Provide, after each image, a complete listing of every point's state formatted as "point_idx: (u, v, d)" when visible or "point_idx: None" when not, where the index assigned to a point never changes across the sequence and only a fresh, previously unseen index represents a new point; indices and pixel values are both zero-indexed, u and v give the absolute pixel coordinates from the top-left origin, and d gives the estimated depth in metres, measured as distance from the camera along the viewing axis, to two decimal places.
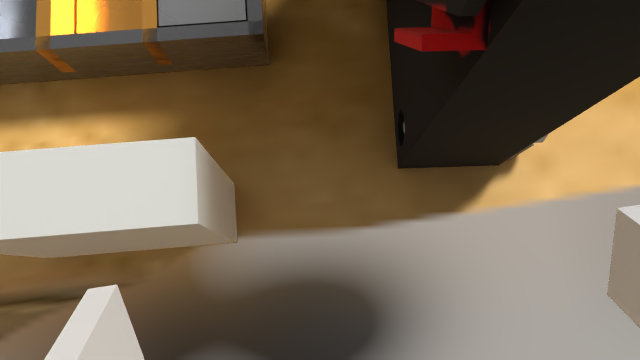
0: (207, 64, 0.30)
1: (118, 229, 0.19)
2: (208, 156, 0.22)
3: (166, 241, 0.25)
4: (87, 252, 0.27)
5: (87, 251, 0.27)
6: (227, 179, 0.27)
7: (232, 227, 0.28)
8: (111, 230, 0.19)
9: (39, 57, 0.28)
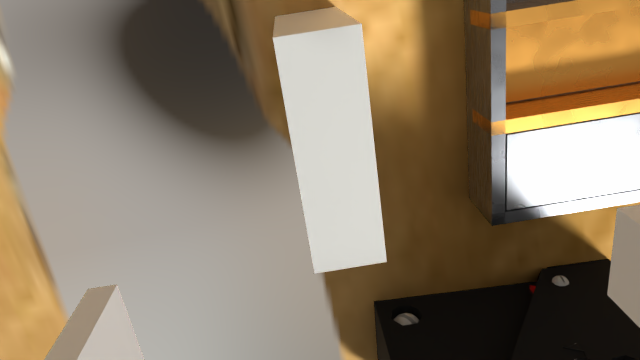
0: (471, 149, 0.32)
1: (304, 216, 0.22)
2: None
3: None
4: None
5: None
6: None
7: None
8: (303, 210, 0.22)
9: (484, 7, 0.26)
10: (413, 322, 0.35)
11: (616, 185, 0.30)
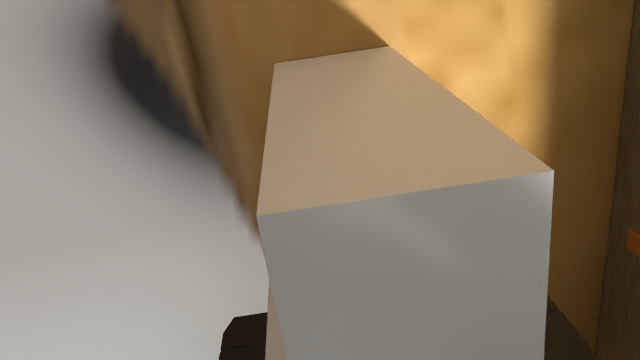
0: (614, 289, 0.18)
1: None
2: None
3: None
4: None
5: None
6: None
7: None
8: None
9: None
10: None
11: None
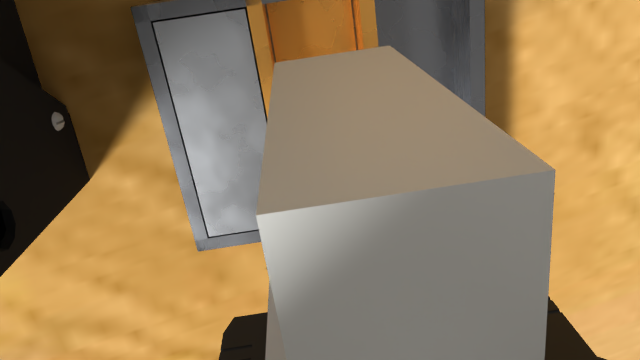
0: None
1: None
2: None
3: None
4: None
5: None
6: None
7: None
8: None
9: None
10: None
11: (192, 142, 0.28)
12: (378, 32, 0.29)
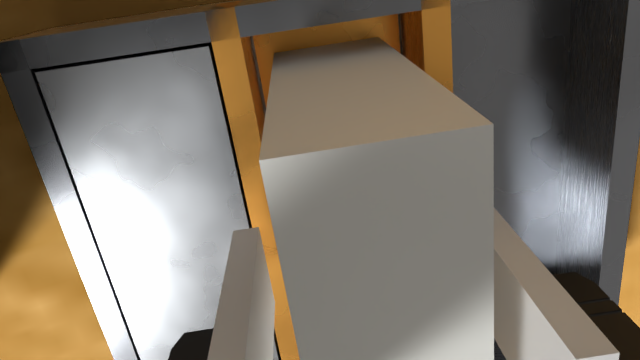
0: (158, 12, 0.16)
1: None
2: None
3: None
4: None
5: None
6: None
7: None
8: None
9: None
10: None
11: (124, 273, 0.16)
12: None
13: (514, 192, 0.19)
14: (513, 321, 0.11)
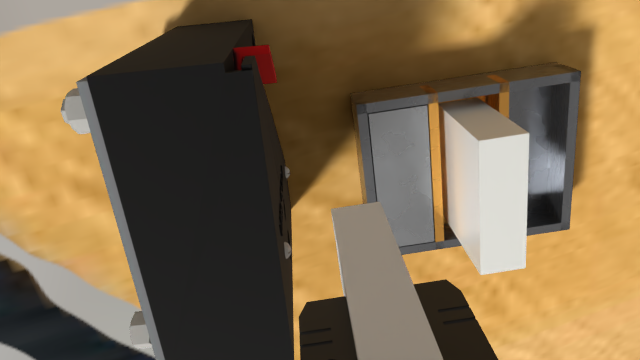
0: (394, 88, 0.43)
1: (480, 240, 0.37)
2: None
3: (455, 206, 0.43)
4: (444, 142, 0.43)
5: (446, 146, 0.42)
6: None
7: None
8: (479, 236, 0.37)
9: (508, 79, 0.41)
10: None
11: (381, 187, 0.43)
12: None
13: None
14: None
